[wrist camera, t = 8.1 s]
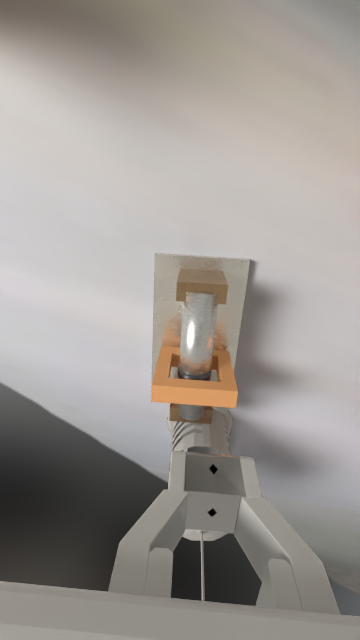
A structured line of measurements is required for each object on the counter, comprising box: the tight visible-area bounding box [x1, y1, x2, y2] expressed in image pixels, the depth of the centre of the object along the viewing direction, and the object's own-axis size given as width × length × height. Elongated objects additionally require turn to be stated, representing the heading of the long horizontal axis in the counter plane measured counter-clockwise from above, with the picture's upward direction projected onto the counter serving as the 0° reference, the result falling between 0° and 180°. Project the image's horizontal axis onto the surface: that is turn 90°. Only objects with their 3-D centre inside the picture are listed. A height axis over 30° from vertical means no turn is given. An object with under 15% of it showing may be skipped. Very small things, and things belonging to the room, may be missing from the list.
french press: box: [167, 406, 232, 601], centre depth 32 cm, size 10×12×25 cm
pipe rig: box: [151, 253, 250, 424], centre depth 34 cm, size 11×19×8 cm, turn 177°
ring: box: [151, 346, 238, 408], centre depth 33 cm, size 9×2×9 cm, turn 87°
